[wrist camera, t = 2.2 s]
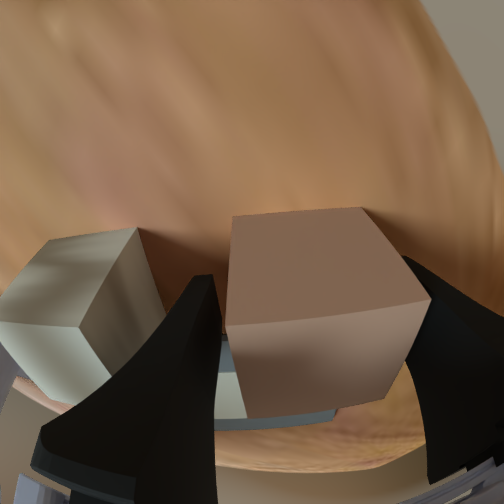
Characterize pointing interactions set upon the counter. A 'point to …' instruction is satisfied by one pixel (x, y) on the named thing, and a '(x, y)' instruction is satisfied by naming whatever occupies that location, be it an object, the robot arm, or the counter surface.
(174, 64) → the counter surface
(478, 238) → the counter surface
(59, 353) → the block cream
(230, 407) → the board
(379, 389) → the block brown
